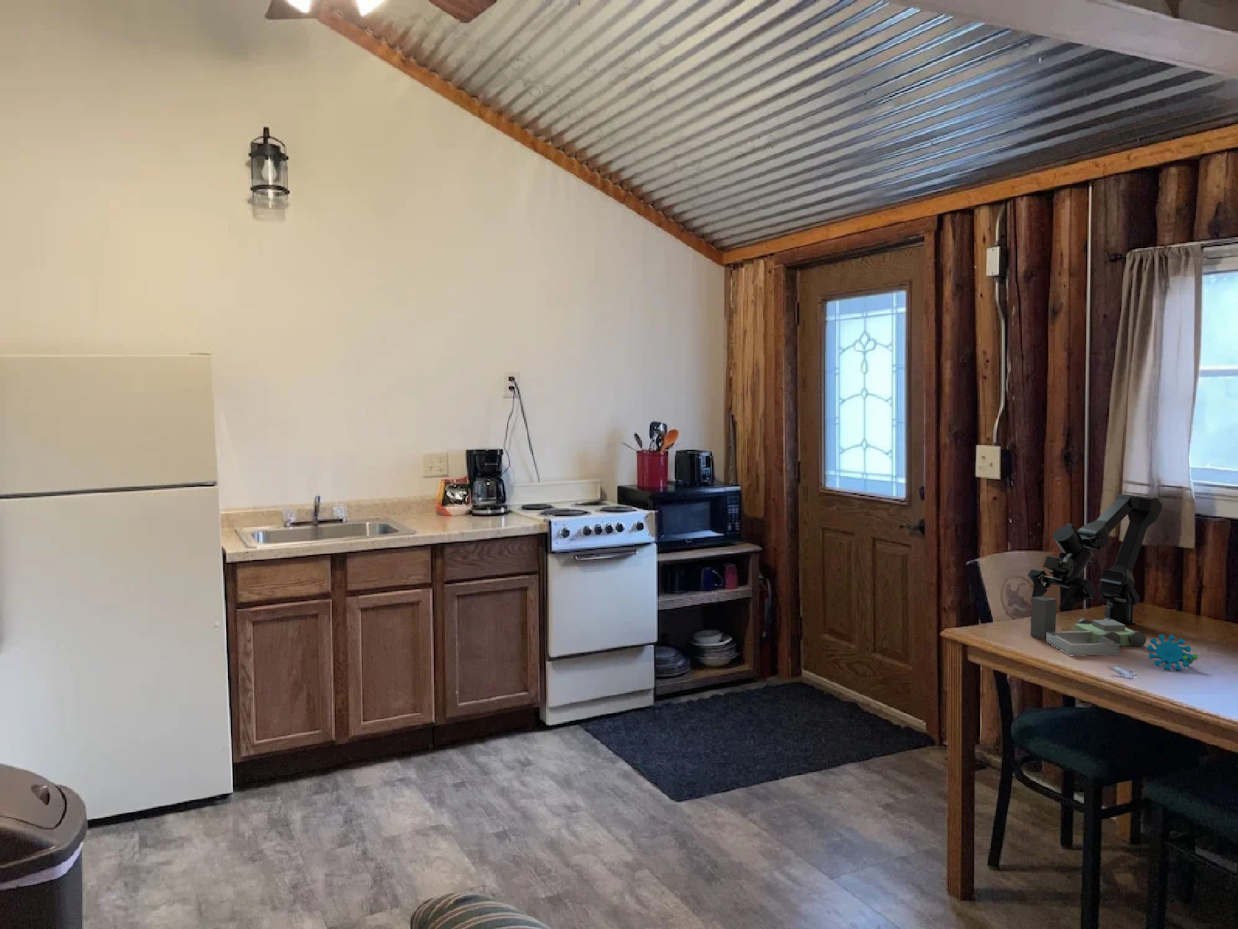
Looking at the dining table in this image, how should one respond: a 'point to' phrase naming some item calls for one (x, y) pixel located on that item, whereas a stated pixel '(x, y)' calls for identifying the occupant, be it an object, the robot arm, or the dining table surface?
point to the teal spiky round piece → (1171, 653)
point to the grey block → (1043, 616)
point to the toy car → (1111, 631)
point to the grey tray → (1082, 643)
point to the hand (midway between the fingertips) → (1045, 606)
